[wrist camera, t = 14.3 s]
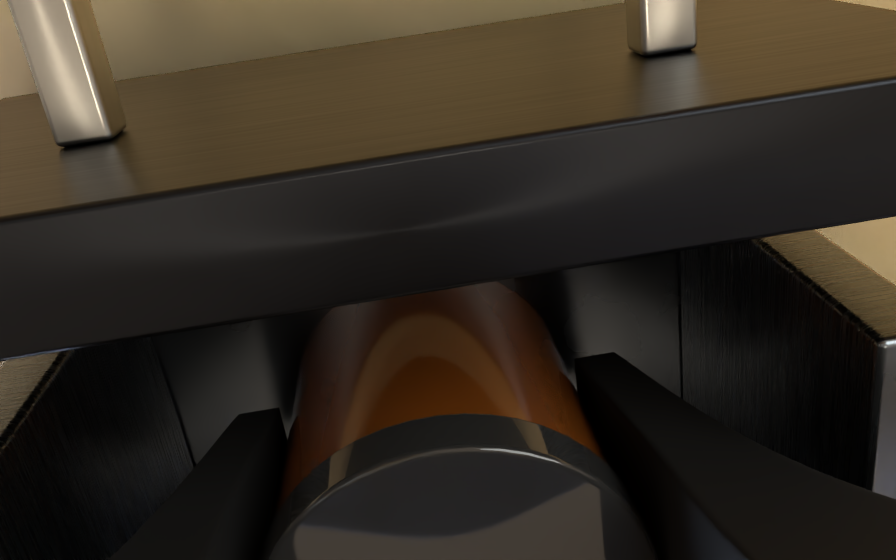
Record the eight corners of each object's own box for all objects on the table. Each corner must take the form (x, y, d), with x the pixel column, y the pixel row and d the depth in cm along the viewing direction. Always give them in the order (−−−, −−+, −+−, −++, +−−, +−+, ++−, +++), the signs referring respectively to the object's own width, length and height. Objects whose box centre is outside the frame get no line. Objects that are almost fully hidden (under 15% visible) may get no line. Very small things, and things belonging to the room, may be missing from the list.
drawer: (-139, -290, 10) (-900, -606, 4) (747, -415, 11) (1279, -886, 4) (223, 716, 18) (145, 1140, 12) (737, 627, 18) (929, 995, 12)
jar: (579, 260, 13) (693, 443, 8) (553, 496, 15) (636, 751, 10) (285, 260, 13) (237, 452, 8) (296, 502, 14) (262, 773, 10)
